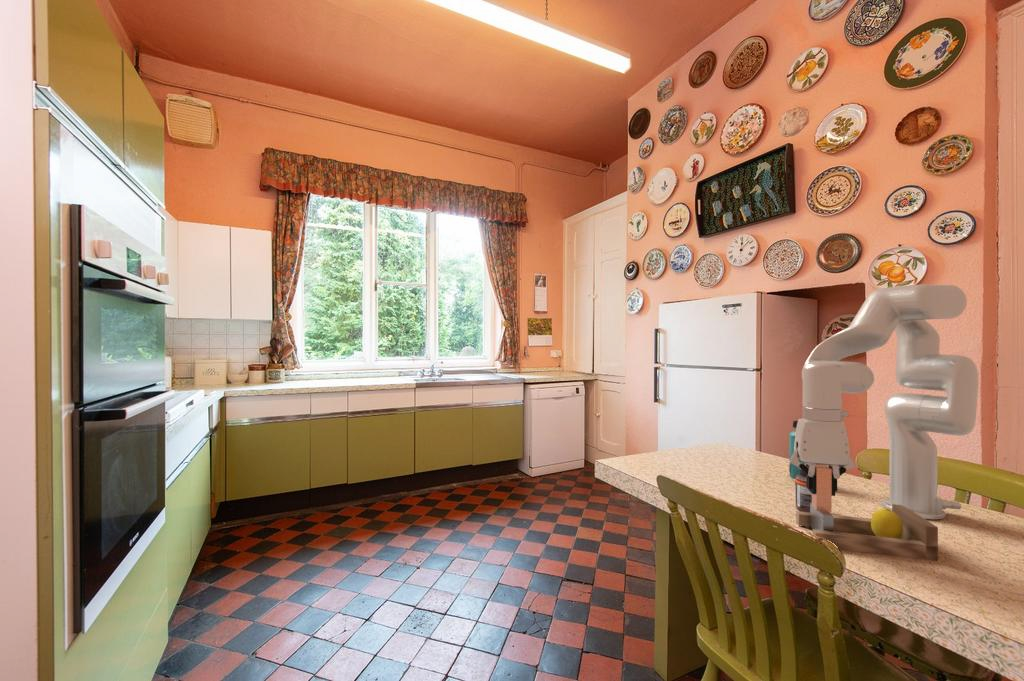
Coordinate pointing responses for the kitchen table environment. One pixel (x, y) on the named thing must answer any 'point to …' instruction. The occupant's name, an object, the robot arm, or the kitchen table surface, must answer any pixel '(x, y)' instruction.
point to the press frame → (913, 542)
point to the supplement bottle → (802, 493)
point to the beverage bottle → (792, 468)
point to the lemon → (886, 524)
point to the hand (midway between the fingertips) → (821, 492)
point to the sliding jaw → (822, 500)
